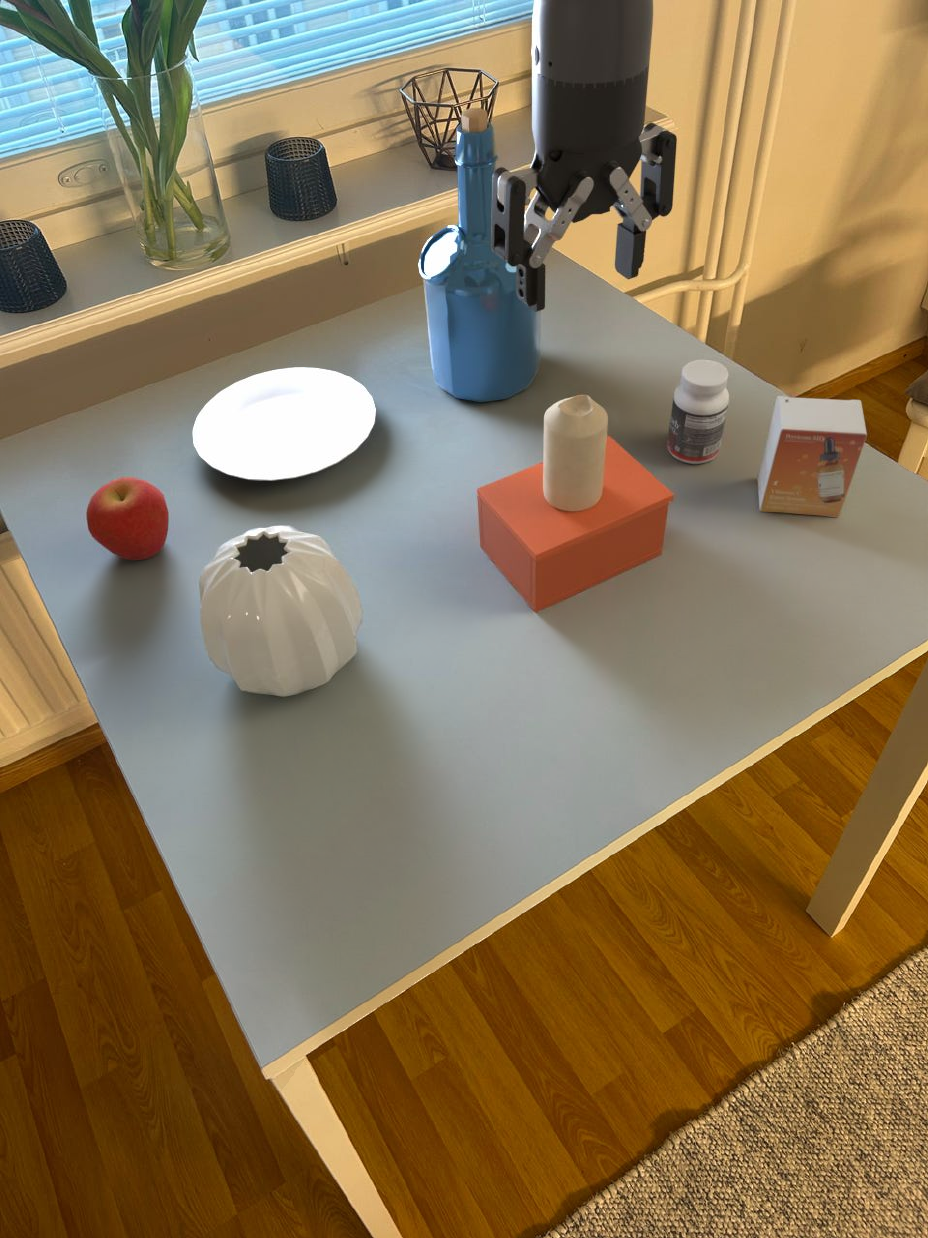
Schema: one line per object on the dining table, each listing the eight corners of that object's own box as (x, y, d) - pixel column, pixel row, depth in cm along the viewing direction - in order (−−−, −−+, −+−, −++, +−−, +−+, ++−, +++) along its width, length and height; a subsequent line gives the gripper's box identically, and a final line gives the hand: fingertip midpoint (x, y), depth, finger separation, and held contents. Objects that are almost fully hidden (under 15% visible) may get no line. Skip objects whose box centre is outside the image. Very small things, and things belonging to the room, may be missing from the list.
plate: (412, 444, 105) (410, 428, 104) (244, 522, 98) (239, 506, 97) (324, 363, 117) (321, 347, 116) (169, 427, 110) (163, 411, 109)
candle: (569, 465, 90) (573, 376, 82) (614, 491, 87) (622, 401, 80) (530, 494, 87) (530, 405, 80) (575, 520, 85) (579, 431, 77)
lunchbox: (600, 494, 98) (603, 442, 93) (661, 554, 92) (669, 502, 87) (479, 546, 94) (476, 495, 89) (535, 613, 88) (535, 562, 83)
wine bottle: (511, 333, 119) (506, 76, 97) (559, 386, 111) (566, 119, 89) (412, 362, 116) (383, 104, 94) (454, 419, 108) (433, 152, 86)
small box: (758, 513, 95) (778, 429, 87) (756, 477, 99) (775, 393, 91) (840, 518, 94) (869, 434, 86) (835, 482, 97) (862, 398, 90)
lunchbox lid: (608, 440, 93) (608, 434, 93) (673, 500, 87) (674, 494, 86) (476, 494, 89) (476, 488, 88) (535, 561, 83) (535, 555, 82)
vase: (223, 608, 90) (185, 504, 80) (366, 593, 91) (346, 488, 81) (210, 724, 81) (165, 623, 71) (370, 708, 81) (347, 605, 71)
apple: (95, 575, 94) (66, 518, 88) (114, 522, 100) (88, 465, 94) (171, 572, 94) (147, 514, 88) (186, 519, 99) (164, 461, 93)
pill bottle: (666, 431, 104) (676, 354, 97) (718, 434, 104) (732, 356, 96) (666, 464, 101) (677, 387, 93) (720, 467, 100) (735, 389, 93)
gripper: (526, 100, 55) (527, 341, 68) (717, 47, 60) (685, 283, 72) (465, 64, 60) (476, 296, 72) (646, 17, 64) (628, 244, 76)
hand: (580, 289), depth 72 cm, fingers open, 8 cm apart
